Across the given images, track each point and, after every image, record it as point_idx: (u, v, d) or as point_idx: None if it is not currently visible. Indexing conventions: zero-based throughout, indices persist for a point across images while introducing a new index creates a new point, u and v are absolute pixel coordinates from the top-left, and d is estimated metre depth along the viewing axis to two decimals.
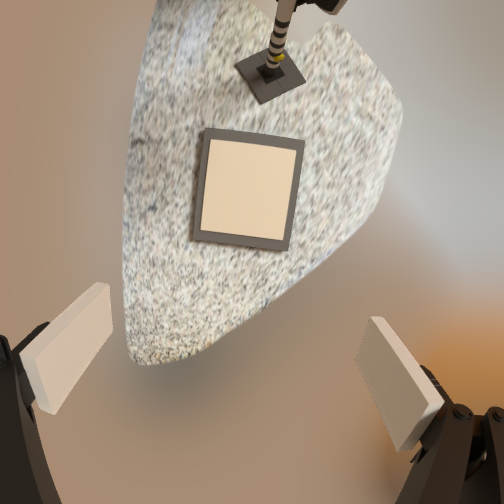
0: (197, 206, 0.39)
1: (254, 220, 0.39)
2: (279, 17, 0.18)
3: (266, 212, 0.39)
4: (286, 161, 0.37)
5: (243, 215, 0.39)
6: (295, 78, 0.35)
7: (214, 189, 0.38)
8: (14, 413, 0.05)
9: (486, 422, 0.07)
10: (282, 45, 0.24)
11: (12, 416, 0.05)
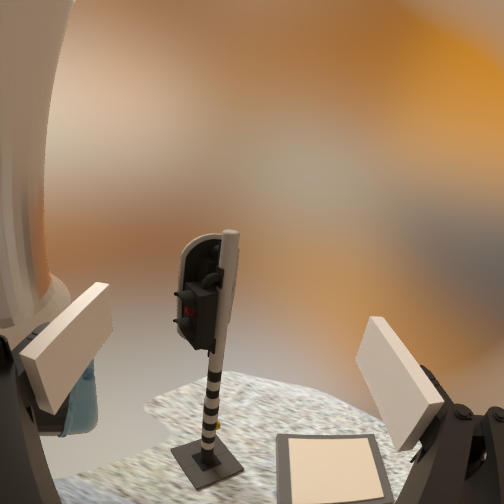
0: None
1: (359, 459, 0.31)
2: (221, 366, 0.25)
3: (349, 452, 0.33)
4: (300, 444, 0.34)
5: (358, 468, 0.30)
6: None
7: (343, 493, 0.26)
8: (14, 413, 0.05)
9: (486, 422, 0.07)
10: None
11: (12, 416, 0.05)
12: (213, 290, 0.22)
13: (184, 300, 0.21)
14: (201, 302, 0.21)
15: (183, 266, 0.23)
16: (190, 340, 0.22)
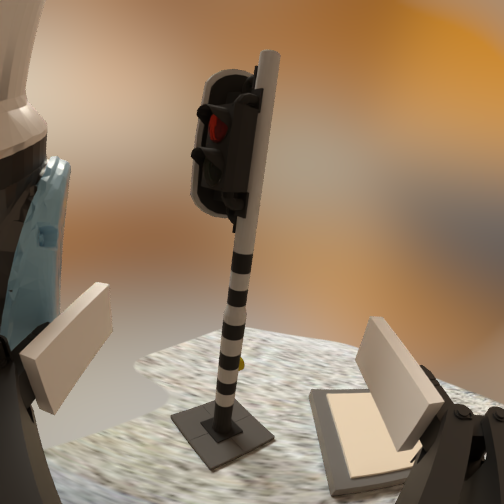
0: None
1: None
2: (253, 244, 0.19)
3: None
4: (343, 400, 0.27)
5: None
6: None
7: (410, 455, 0.19)
8: (14, 413, 0.05)
9: (486, 422, 0.07)
10: None
11: (12, 416, 0.05)
12: None
13: (214, 107, 0.14)
14: (237, 112, 0.14)
15: (207, 97, 0.17)
16: (215, 178, 0.15)
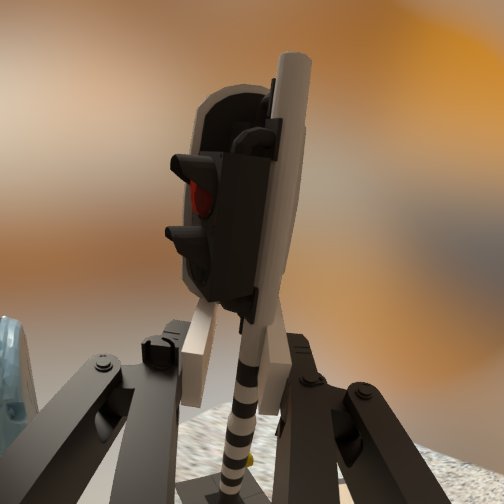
0: None
1: None
2: None
3: None
4: None
5: None
6: None
7: None
8: (165, 420, 0.07)
9: (350, 403, 0.08)
10: None
11: (162, 422, 0.07)
12: None
13: (187, 163, 0.08)
14: (228, 169, 0.09)
15: (199, 132, 0.11)
16: (198, 278, 0.10)
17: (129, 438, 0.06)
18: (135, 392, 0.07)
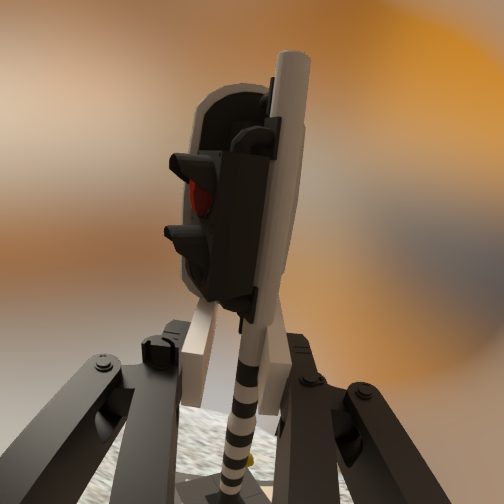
0: None
1: None
2: None
3: None
4: None
5: None
6: None
7: None
8: (165, 420, 0.07)
9: (350, 403, 0.08)
10: None
11: (162, 422, 0.07)
12: None
13: (186, 162, 0.08)
14: (227, 168, 0.09)
15: (198, 131, 0.11)
16: (197, 277, 0.10)
17: (129, 438, 0.06)
18: (135, 392, 0.07)
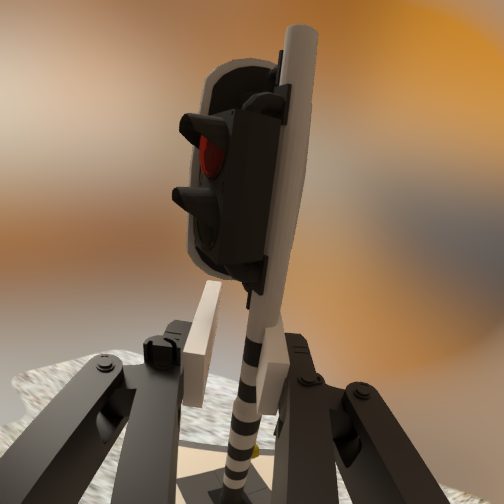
0: None
1: None
2: None
3: None
4: (180, 455, 0.22)
5: None
6: None
7: None
8: (167, 420, 0.07)
9: (348, 403, 0.08)
10: None
11: (164, 423, 0.07)
12: None
13: (198, 119, 0.08)
14: (239, 126, 0.08)
15: (207, 101, 0.11)
16: (206, 240, 0.09)
17: (131, 438, 0.06)
18: (137, 392, 0.07)
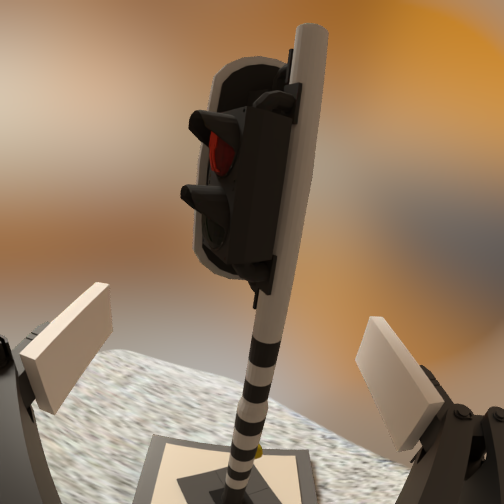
0: None
1: (275, 489, 0.19)
2: (281, 329, 0.12)
3: None
4: (181, 454, 0.22)
5: None
6: None
7: None
8: (14, 413, 0.05)
9: (486, 422, 0.07)
10: None
11: (12, 416, 0.05)
12: None
13: (209, 116, 0.08)
14: (251, 124, 0.08)
15: (216, 99, 0.11)
16: (216, 239, 0.09)
17: None
18: None
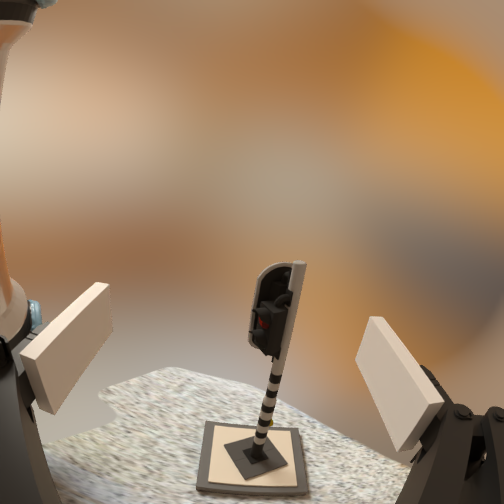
0: (275, 490, 0.30)
1: (278, 449, 0.38)
2: (282, 370, 0.31)
3: None
4: (224, 431, 0.40)
5: None
6: None
7: (256, 478, 0.32)
8: (14, 413, 0.05)
9: (486, 422, 0.07)
10: None
11: (12, 416, 0.05)
12: (283, 308, 0.28)
13: (261, 315, 0.26)
14: (274, 317, 0.27)
15: (258, 288, 0.29)
16: (262, 347, 0.28)
17: None
18: None
